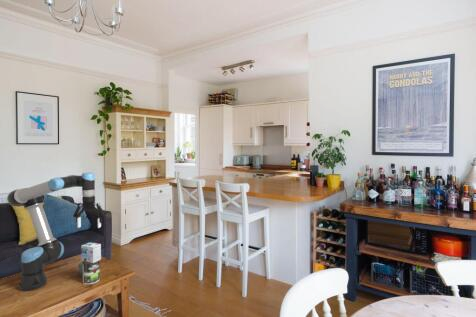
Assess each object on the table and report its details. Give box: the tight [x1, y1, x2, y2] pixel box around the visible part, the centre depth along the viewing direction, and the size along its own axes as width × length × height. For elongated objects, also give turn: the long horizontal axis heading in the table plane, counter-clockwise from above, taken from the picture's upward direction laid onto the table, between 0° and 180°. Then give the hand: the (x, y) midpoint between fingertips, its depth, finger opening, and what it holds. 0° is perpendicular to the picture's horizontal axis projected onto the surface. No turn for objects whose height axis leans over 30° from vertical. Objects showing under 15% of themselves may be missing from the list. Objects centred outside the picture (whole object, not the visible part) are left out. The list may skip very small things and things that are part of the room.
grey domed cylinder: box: [77, 262, 83, 277], centre depth 200 cm, size 5×5×8 cm
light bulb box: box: [80, 242, 102, 263], centre depth 190 cm, size 11×7×11 cm, turn 71°
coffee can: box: [81, 260, 101, 285], centre depth 191 cm, size 10×10×14 cm
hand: (89, 227), depth 190 cm, fingers open, 13 cm apart
